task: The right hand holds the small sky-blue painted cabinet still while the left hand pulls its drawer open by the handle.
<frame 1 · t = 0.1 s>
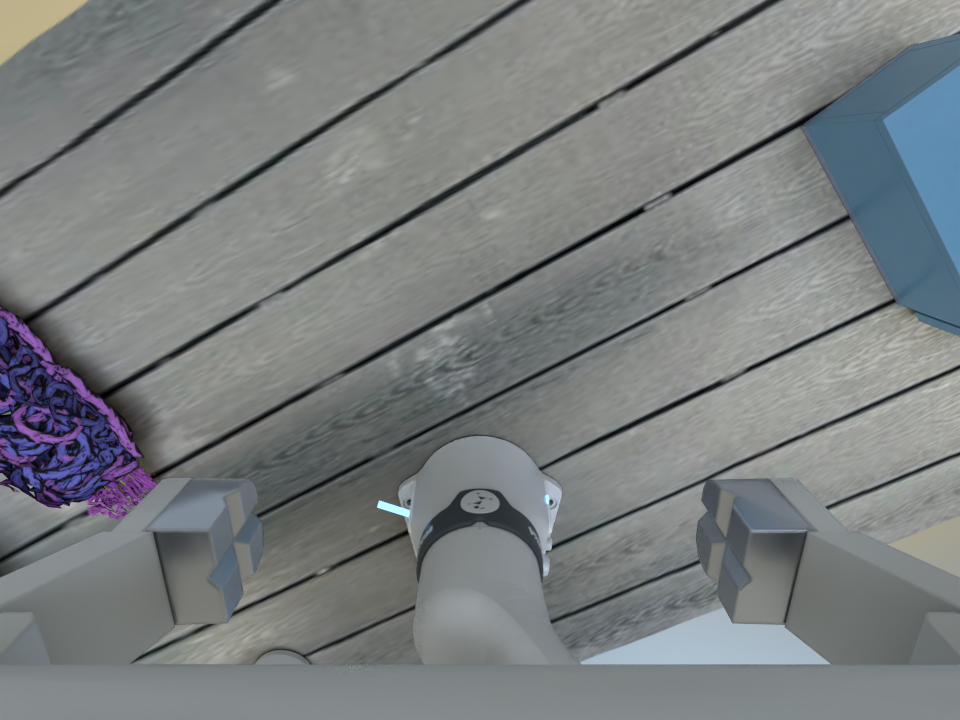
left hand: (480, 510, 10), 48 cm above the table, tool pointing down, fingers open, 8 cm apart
cabinet: (903, 184, 54), on the table
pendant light: (284, 670, 76), on the table
decorative ornament: (78, 403, 62), on the table
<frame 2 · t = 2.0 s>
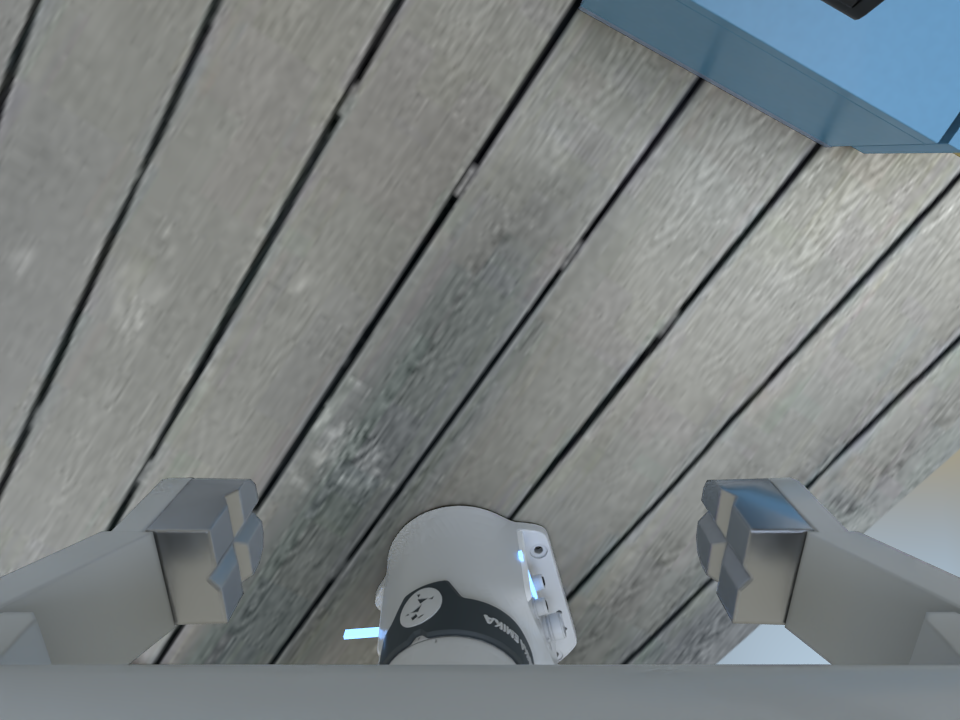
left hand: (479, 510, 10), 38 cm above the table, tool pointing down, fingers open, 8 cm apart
cabinet: (748, 4, 40), on the table
drawer: (863, 26, 36), point 6 cm above the table, slide at 1.2 cm
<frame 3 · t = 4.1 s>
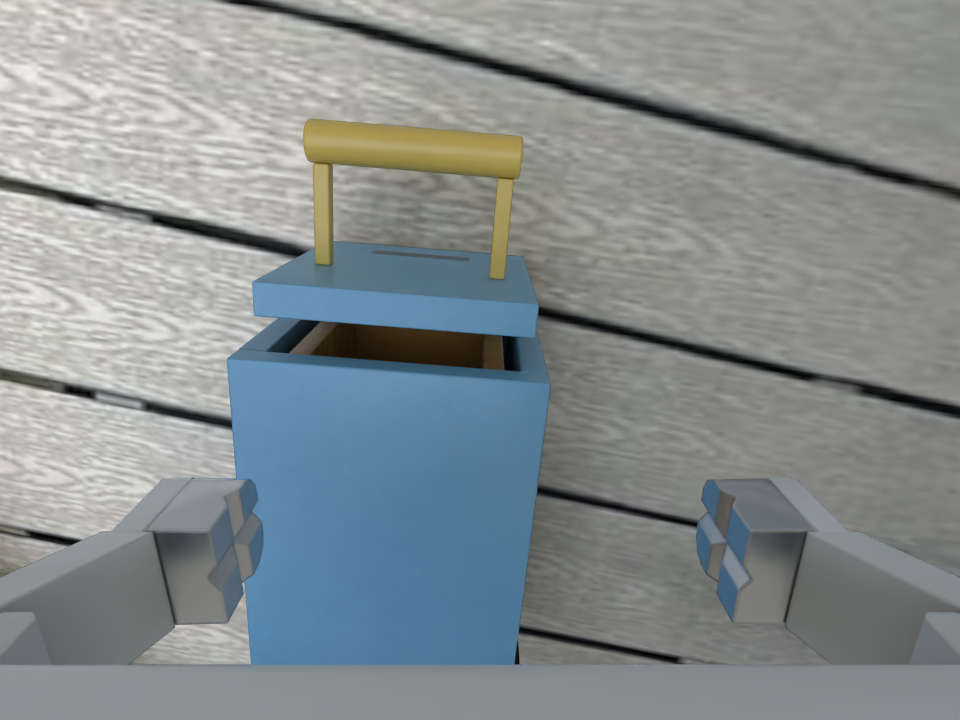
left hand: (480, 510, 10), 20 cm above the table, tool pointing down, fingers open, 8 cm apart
cabinet: (417, 471, 33), on the table, touching right hand
drawer: (407, 429, 26), point 6 cm above the table, slide at 1.2 cm
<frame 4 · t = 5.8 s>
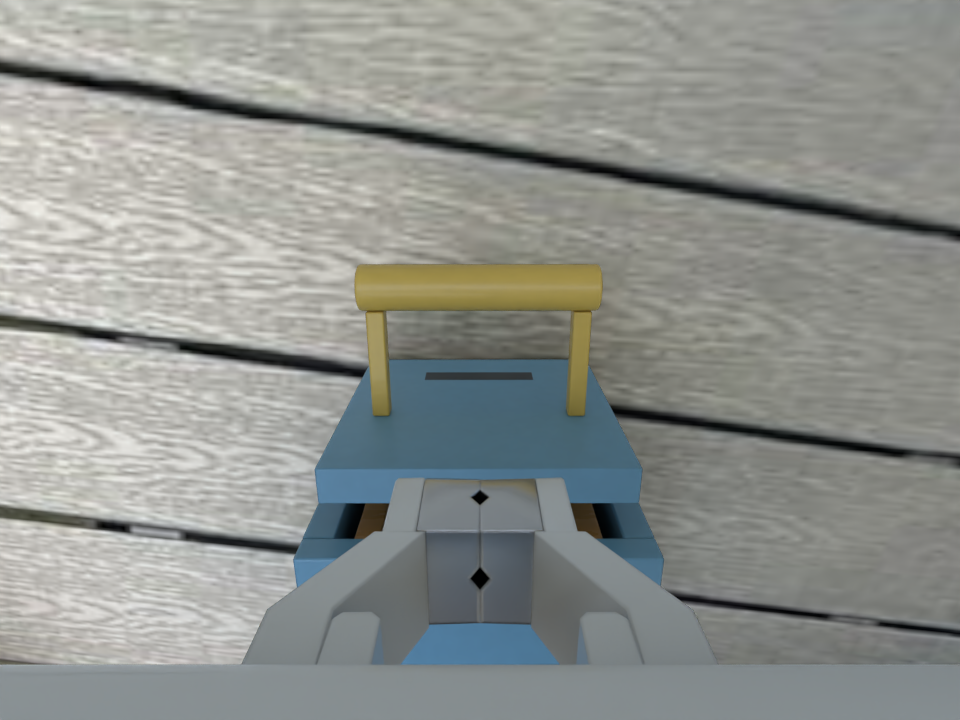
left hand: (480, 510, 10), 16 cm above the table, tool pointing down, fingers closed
cabinet: (479, 580, 31), on the table, touching right hand
drawer: (479, 567, 23), point 6 cm above the table, slide at 1.2 cm
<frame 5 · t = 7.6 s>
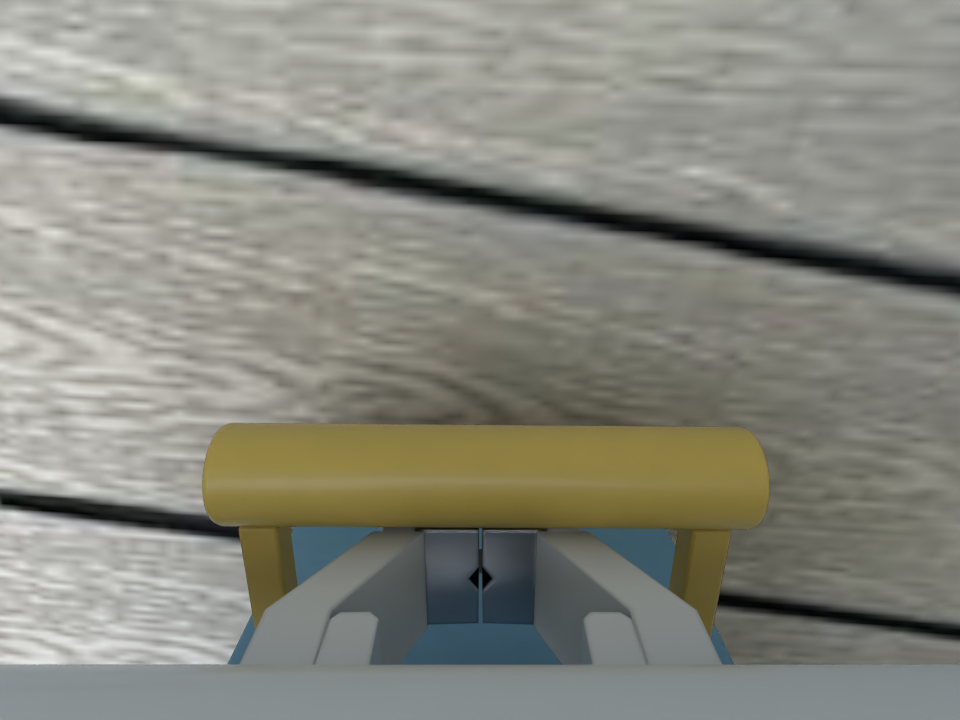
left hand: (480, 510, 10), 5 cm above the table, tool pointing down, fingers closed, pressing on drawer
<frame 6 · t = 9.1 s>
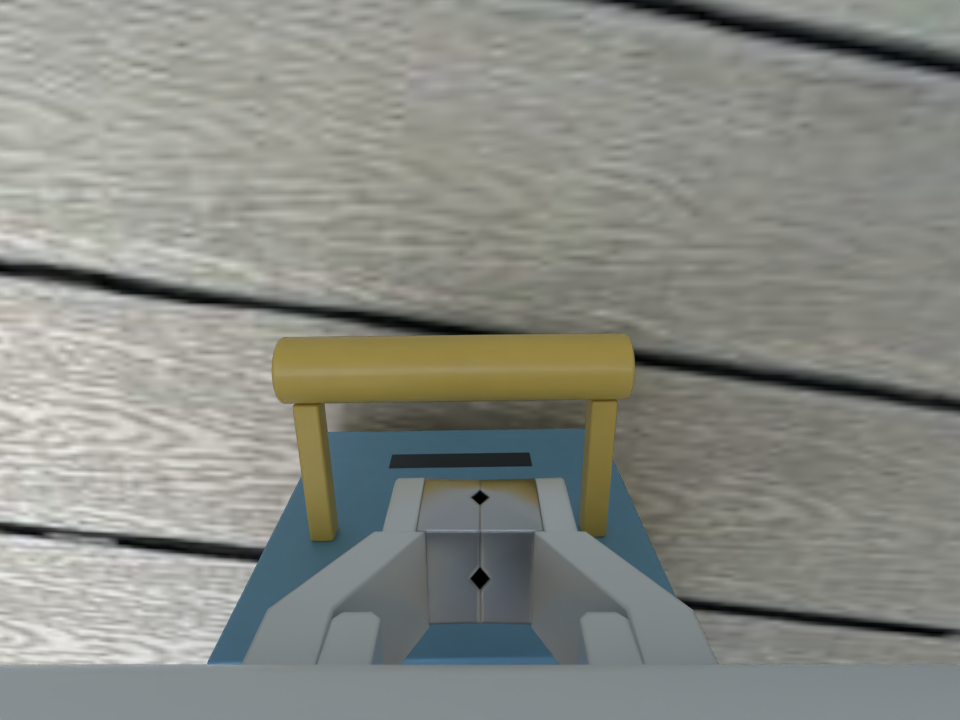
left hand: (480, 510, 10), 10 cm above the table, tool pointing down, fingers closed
drawer: (464, 709, 18), point 6 cm above the table, slide at 6.7 cm
when the right hand's fingers open (7 cm above the table, at t = 10.3 s): cabinet stays where it is, on the table.
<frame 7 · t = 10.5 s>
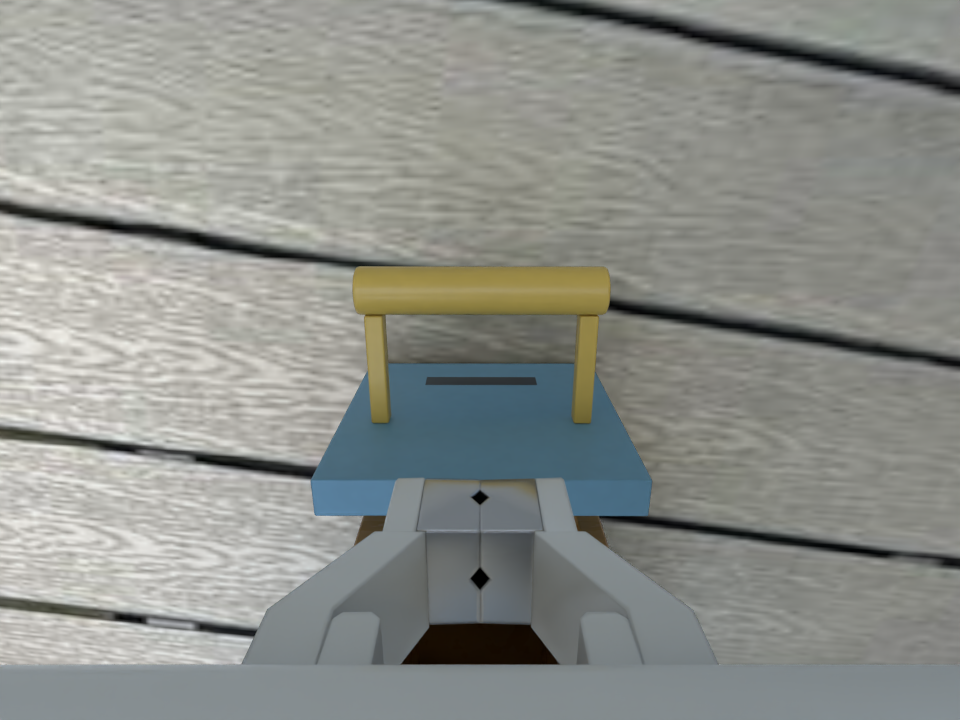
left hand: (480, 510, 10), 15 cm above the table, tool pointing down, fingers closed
drawer: (481, 578, 23), point 6 cm above the table, slide at 6.7 cm
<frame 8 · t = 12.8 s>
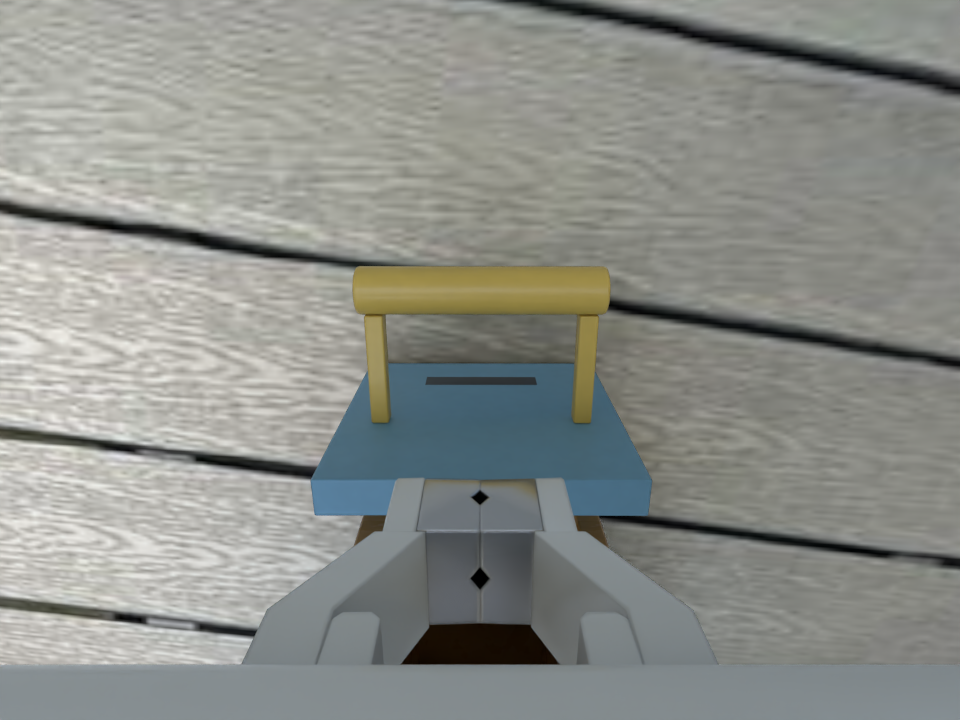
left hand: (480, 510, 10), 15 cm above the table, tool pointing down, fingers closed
drawer: (481, 578, 23), point 6 cm above the table, slide at 6.7 cm
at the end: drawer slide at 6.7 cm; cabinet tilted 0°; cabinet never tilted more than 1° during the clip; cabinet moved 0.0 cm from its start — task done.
